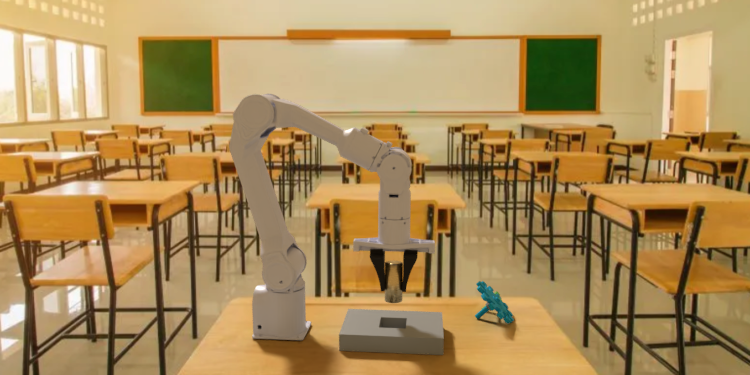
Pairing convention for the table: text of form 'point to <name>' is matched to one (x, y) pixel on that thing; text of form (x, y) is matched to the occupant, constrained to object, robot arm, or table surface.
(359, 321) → the hole plate
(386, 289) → the brass pin
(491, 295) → the teal knobby piece
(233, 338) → the table surface
